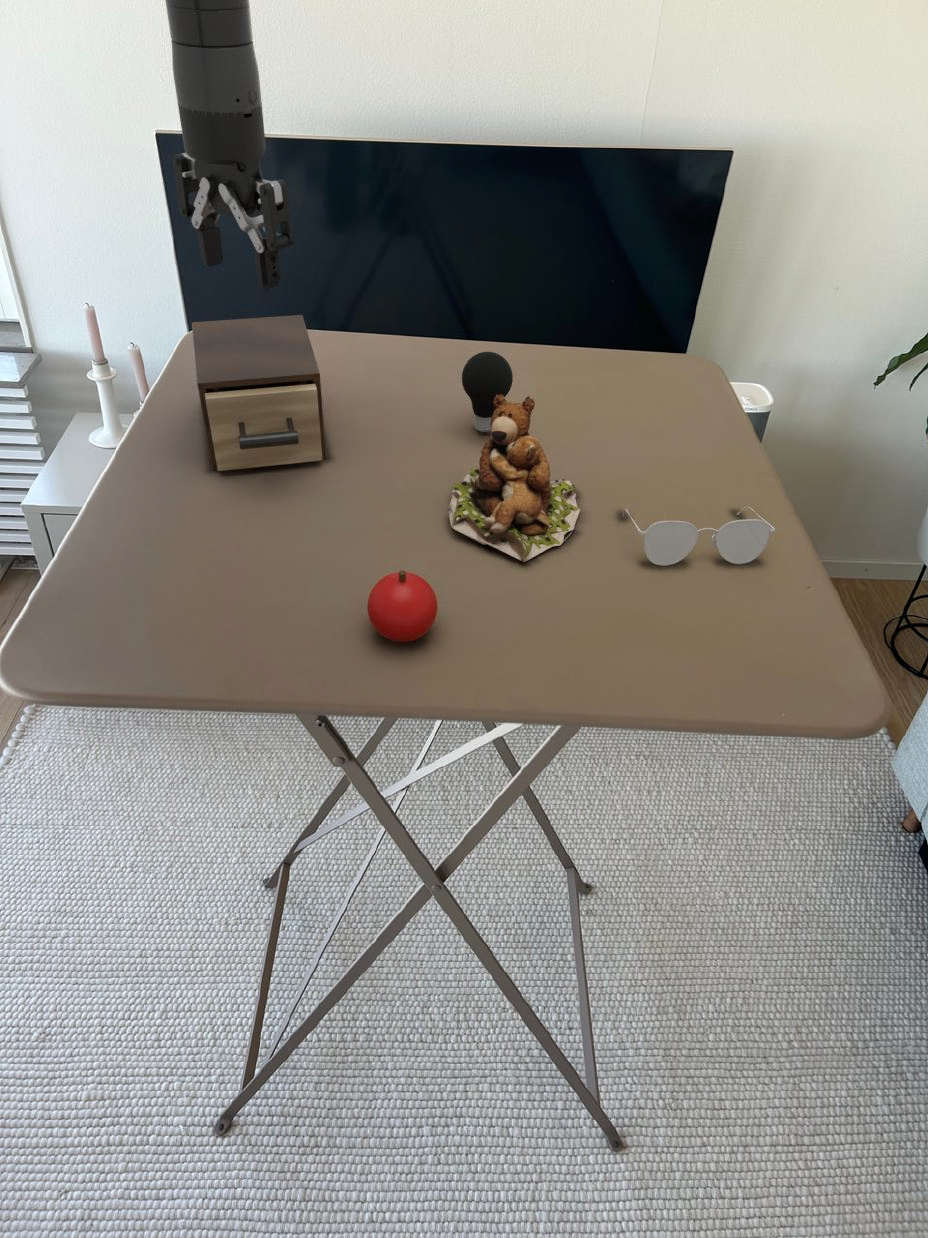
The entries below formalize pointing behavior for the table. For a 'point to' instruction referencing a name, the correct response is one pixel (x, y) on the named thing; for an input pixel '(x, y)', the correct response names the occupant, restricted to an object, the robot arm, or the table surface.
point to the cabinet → (253, 358)
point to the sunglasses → (731, 540)
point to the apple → (402, 606)
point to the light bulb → (486, 385)
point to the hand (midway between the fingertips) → (241, 275)
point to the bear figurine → (513, 490)
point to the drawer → (264, 425)
